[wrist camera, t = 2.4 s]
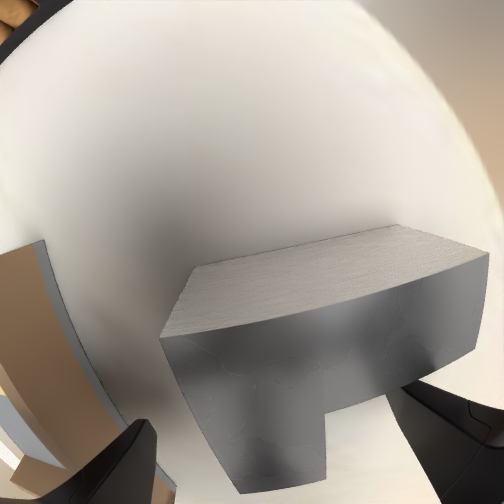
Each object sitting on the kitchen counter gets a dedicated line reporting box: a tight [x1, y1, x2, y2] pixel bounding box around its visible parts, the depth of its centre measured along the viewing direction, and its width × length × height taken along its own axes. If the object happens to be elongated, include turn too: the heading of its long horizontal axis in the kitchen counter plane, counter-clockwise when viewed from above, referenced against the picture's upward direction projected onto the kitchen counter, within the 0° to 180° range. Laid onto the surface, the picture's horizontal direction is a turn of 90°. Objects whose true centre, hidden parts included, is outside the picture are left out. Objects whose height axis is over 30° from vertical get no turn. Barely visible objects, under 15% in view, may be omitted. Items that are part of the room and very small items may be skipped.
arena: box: [0, 240, 177, 504], centre depth 9 cm, size 18×16×5 cm
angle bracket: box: [159, 225, 489, 494], centre depth 8 cm, size 7×8×5 cm
